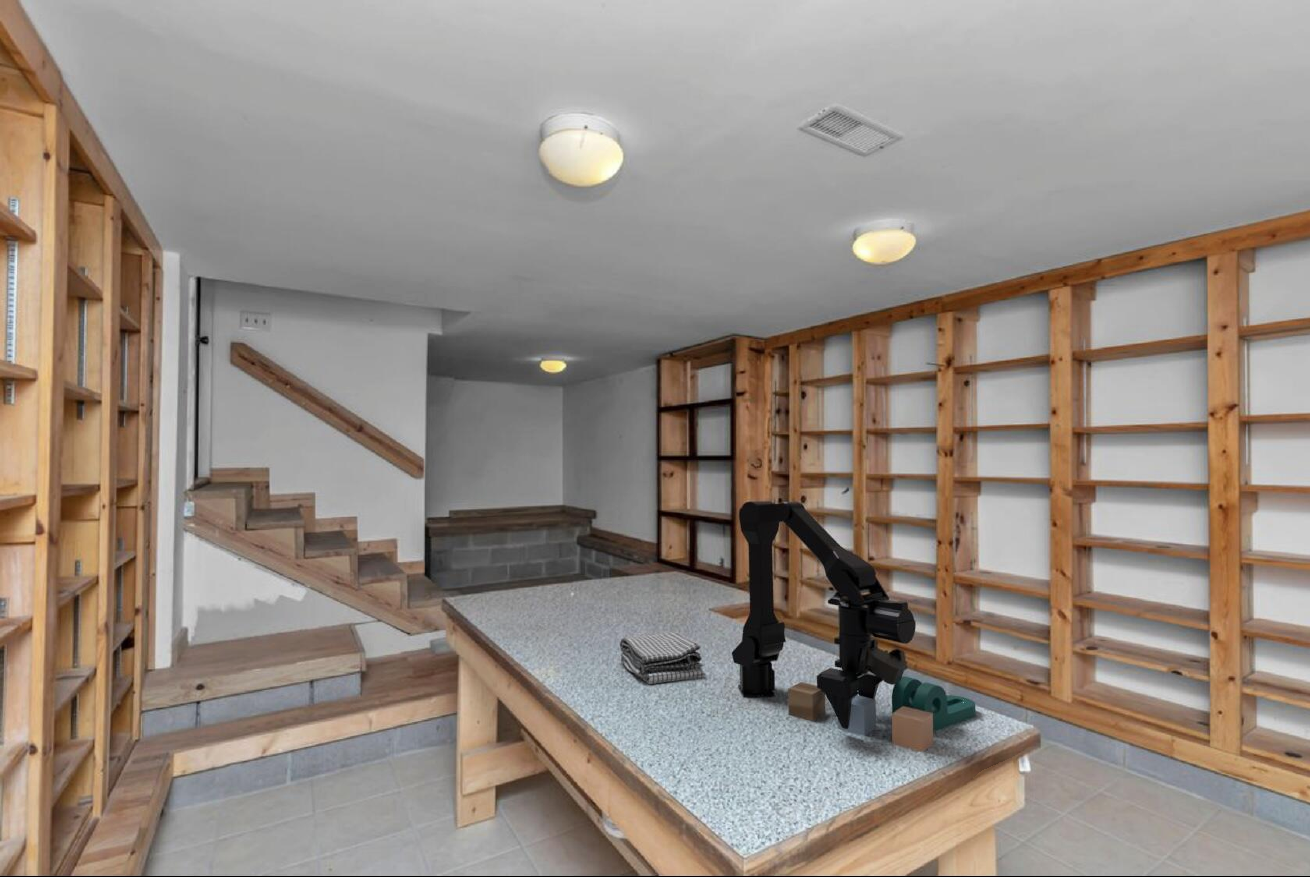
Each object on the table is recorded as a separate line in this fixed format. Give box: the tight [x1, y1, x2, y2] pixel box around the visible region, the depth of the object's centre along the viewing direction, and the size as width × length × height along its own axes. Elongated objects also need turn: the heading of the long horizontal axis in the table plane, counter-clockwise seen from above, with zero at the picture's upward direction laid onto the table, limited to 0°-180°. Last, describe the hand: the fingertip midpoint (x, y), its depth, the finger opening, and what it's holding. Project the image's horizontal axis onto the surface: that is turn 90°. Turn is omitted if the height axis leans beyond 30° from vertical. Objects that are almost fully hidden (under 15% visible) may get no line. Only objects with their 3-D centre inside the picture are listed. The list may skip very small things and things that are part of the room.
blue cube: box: [836, 694, 877, 737], centre depth 115 cm, size 5×5×5 cm
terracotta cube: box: [891, 706, 934, 753], centre depth 108 cm, size 5×5×5 cm
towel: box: [619, 631, 706, 685], centre depth 149 cm, size 15×18×8 cm
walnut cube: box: [787, 681, 826, 722], centre depth 122 cm, size 5×5×5 cm
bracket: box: [891, 675, 977, 733], centre depth 120 cm, size 18×7×8 cm, turn 123°
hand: (856, 720), depth 115 cm, fingers open, 9 cm apart
